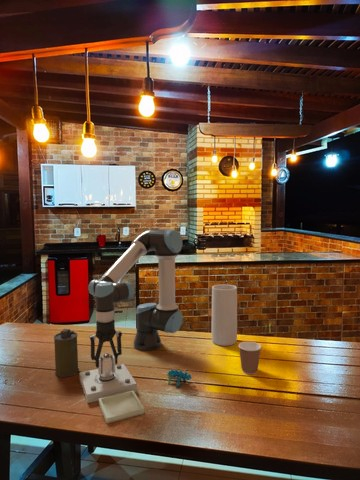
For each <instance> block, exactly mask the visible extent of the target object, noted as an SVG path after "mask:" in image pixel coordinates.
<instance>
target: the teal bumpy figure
mask: <svg viewBox="0 0 360 480" xmlns="http://www.w3.org/2000/svg"><path fill="white" fill-rule="evenodd" d="M166 377H167V378H168V382H167V385H171V380H175V381H176V380H177V382H176V385H175V386H176V388H179V386H180V383H181V380H182V381H190V380H192V375H191V374H188V372H184V371H183V370H178V369H174V370H173V369H170V370H169V371H168V372H167V373H166Z"/></svg>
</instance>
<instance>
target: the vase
mask: <svg viewBox="0 0 360 480" xmlns="http://www.w3.org/2000/svg"><path fill="white" fill-rule="evenodd" d="M210 333H211V334H210V335H211V342H212V343H213V344H215V345H217V346H221V347H227V346H234V345H235V344H236V343H237V340H238V287H237V285H234V284H224V283H223V284H215V285H212V286H211V332H210Z"/></svg>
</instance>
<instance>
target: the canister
mask: <svg viewBox="0 0 360 480" xmlns="http://www.w3.org/2000/svg"><path fill="white" fill-rule="evenodd" d="M53 340H54V364H55V372H54V374H55V375H56V376H57V377H61V378H66V376H67V377H71V376H73V375H76V374H77V373H78V372H79V370H80V369H79V356H78V355H79V354H78V353H79V351H78V333H77V332H75V331H74V330H71V329H69V328H64V329H62V330H61V331H60V332H59V333H58V332H57V333H56V334H55V335H54V336H53Z"/></svg>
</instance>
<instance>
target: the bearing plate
mask: <svg viewBox="0 0 360 480" xmlns="http://www.w3.org/2000/svg"><path fill="white" fill-rule="evenodd" d="M113 374H114V378H113V380H112V381H108V382H102V381H101V379H100V376H99V373H98V368H95V369H91V370H85V371H81V372H79V382H80V385H82V386H81V388H83V389H82V392H83V395H84V394H85V395H84V397H85V400H86V403H87V404H89V403H94V402H99V398H103V397H107V396H112V395H116V394H120V393H124V392H129V391H134V392H135V393H136V392H137V389H138V388H137V387H138V385H137V382H136V381H135V379H134V377H133V375H132V374H131V373H130V371H129V370H128V368H127V366H126V365H125V364H124V363H121V364H115V373H114V372H113Z"/></svg>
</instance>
